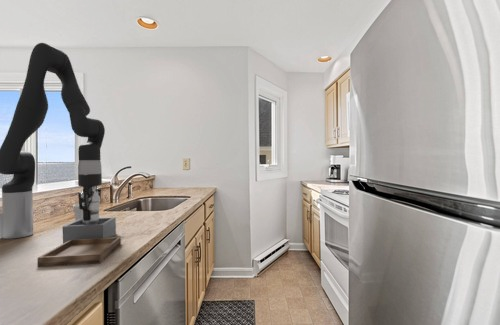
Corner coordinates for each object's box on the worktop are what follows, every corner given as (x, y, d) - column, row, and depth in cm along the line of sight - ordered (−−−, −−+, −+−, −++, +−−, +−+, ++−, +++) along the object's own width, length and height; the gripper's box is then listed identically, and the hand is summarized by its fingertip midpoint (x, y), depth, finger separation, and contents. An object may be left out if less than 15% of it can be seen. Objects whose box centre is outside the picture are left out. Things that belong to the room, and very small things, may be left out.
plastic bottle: (105, 237, 106) (104, 184, 106) (88, 242, 100) (87, 185, 100) (93, 236, 109) (93, 183, 109) (76, 240, 103) (75, 185, 103)
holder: (62, 245, 97) (62, 226, 97) (80, 235, 110) (80, 218, 110) (103, 243, 99) (102, 224, 99) (115, 234, 112) (115, 217, 112)
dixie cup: (98, 225, 127) (98, 203, 127) (79, 229, 120) (78, 206, 120) (88, 223, 131) (88, 202, 131) (69, 227, 124) (68, 204, 124)
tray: (37, 267, 77) (37, 257, 77) (70, 247, 95) (70, 239, 95) (100, 263, 79) (100, 254, 79) (120, 244, 97) (120, 237, 97)
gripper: (87, 172, 111) (88, 215, 111) (69, 173, 97) (70, 223, 97) (107, 171, 112) (108, 214, 112) (92, 173, 98) (93, 222, 98)
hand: (90, 218), depth 104 cm, fingers closed on plastic bottle, 6 cm apart
